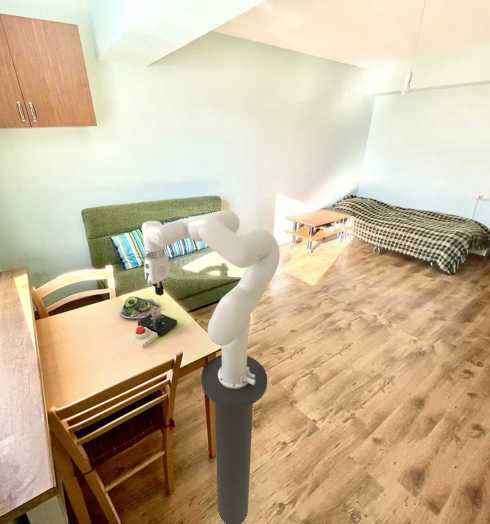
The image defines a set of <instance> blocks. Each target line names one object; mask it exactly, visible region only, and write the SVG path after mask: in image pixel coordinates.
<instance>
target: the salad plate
mask: <svg viewBox="0 0 490 524" xmlns="http://www.w3.org/2000/svg"><path fill="white" fill-rule="evenodd" d="M123 303H124V304H123V306H122V308H121V309H120V311H119V315H120V317H121V318H124V319H126V320H138V319H143V318H144V317H146V316H148V315H149V314H151V312H152V311H153V310H156V309H158V308H161V305H160V304H157V303H156V301H155V300H154V299H153V298H141V297H140V296H129V297H128V298H127V299H126V300H125V301H124V302H123Z"/></svg>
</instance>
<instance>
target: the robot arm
mask: <svg viewBox="0 0 490 524" xmlns="http://www.w3.org/2000/svg"><path fill="white" fill-rule="evenodd" d="M239 229H240V218H239V216H238V215H237V213H235V212H234V211H231V210H228V209H227V210H226V209H225V210H218V211H213V212H209V213H205V214H199V215H195V216H191V217H186V218H181V219H178V220H174V221H171V222H168V223H164V224H162V223H161V221H158V220H148V221H145V222H143V223H142V225H141V231H142V232H141V233H142V240H143V247H144V254H143V257H144V263H143V264H144V279H145V281H146V282H147V284H146V285H147V286H148V287H154V292H155V295H157V296H160V297H162V296H163V295H164V294H165V292H164V285H165V281H166V279H167V278H169V277H170V276H171V265H170V262H169V257H168V255H167V253H166V251H165V250H166V249H165V248H166V247H168V246H170V245H173V244H175V243H178V242H180V241H183V240H186V239H192V240H193V241H195V242H203V243H204V244H205V245H207V247H209V248H210V249H211V250H213V251H214V252H215V253H217V254H218V255H219V256H220V257H222V258H223V259H224V260H226V261H227V262H228V263H229V264H231V265H233V266H234V267H237V268H239V269H245V270H244V272H243V275H242V276H241V278H240V280H239V281H238V283H237V284H236V285H235V286H234V287H233V288H231V290H230V291H229V292H227V293H226V294H225V295H223V296H222V297H221V299H220V300H219V301H218V303H217V305H216V307H215V309H214V311H213V313H212V315H211V317H210V319H209V322H208V325H207V333H208V337H209V339H210V340H211V342H213V344H215V345H218V346H221V355H222V367H221V368H220V369H219V371H218V379H219V381H220V383H221V384H222V385H223V386H225V387H227V388H231V389H239V388H242V387H244V386H246V385H247V384H248V383H249V384H252V385H255V382H256V380H254V378H255V375H254V374H251V373H250V371H249V367H247V356H248V346H249V345H248V344H249V331H250V326H251V320H252V316H251V314H252V313H253V312H254V311H255V309H256V308H257V307H258V305H259V304H260V301H261V299H262V297H263V295H264V294H265V292H266V290H267V289H268V287H269V285H270V283H271V281H272V280H273V277H274V275H275V274H276V272H277V269H278V266H279V263H280V255H281V253H280V247H279V244H278V242H277V241H278V240H277V239H276V237H275V236H274V235H273V233H271V232H270V231H269V230H267V229H264V228H258V229H253V230H251V231H249V232H247V233H245V234H243V235H241V236H240V235H238V234H237V233H238V231H239ZM250 377H251V378H250ZM252 378H253V379H252Z"/></svg>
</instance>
